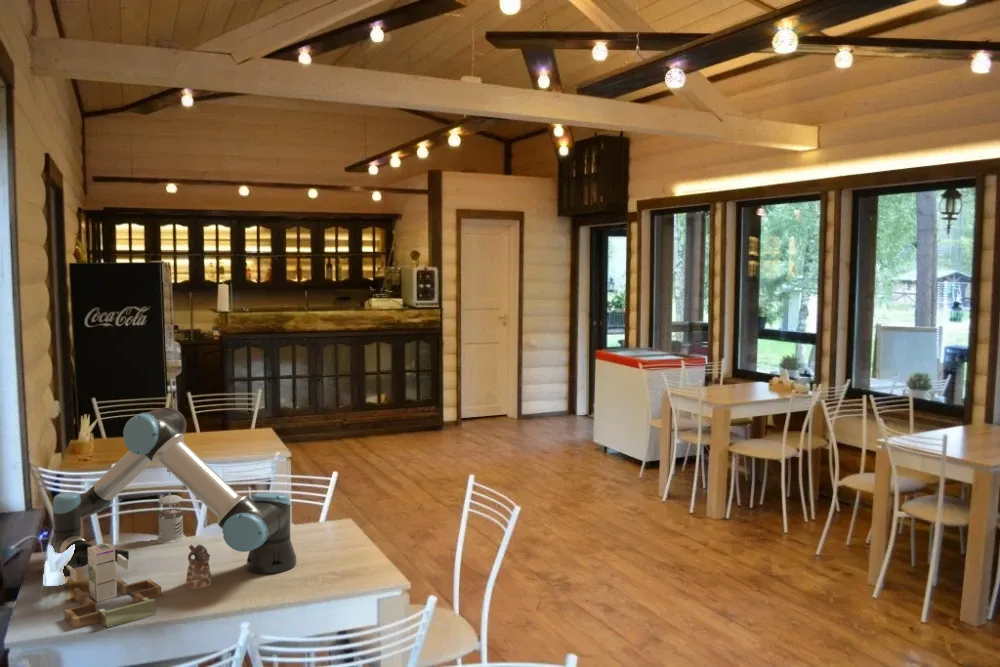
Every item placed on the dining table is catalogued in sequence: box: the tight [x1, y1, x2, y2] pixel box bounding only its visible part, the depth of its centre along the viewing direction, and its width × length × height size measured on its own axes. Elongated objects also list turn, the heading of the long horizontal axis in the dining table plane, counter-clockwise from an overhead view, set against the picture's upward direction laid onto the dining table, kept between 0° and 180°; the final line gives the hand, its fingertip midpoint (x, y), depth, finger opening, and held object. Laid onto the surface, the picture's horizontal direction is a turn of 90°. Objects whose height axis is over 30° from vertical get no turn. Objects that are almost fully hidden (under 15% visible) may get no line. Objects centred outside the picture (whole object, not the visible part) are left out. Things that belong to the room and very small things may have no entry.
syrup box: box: [87, 542, 118, 603], centre depth 226 cm, size 6×6×14 cm
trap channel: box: [64, 577, 162, 630], centre depth 220 cm, size 27×25×4 cm
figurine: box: [185, 544, 213, 590], centre depth 236 cm, size 7×7×12 cm
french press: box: [155, 468, 187, 544], centre depth 278 cm, size 10×12×25 cm
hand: (101, 570), depth 226 cm, fingers open, 13 cm apart
